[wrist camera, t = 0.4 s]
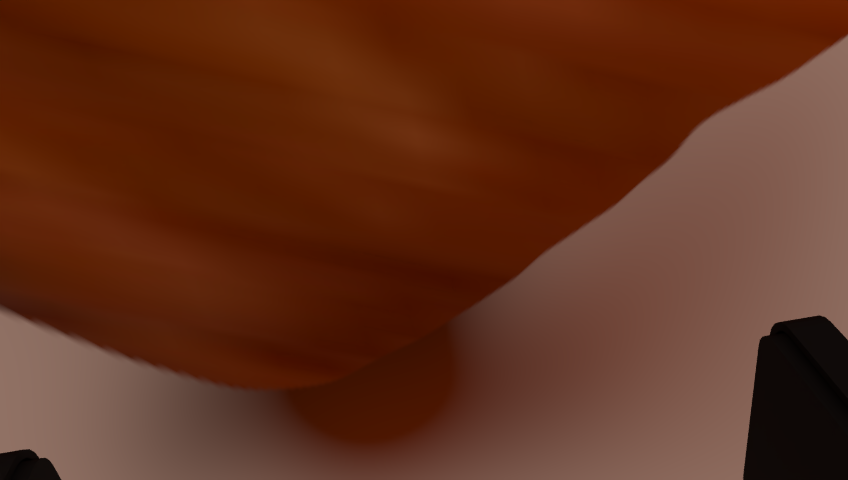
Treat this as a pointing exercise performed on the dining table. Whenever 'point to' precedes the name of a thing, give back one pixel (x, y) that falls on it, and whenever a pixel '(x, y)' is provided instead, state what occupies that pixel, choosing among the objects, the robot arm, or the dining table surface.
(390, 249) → the dining table surface
